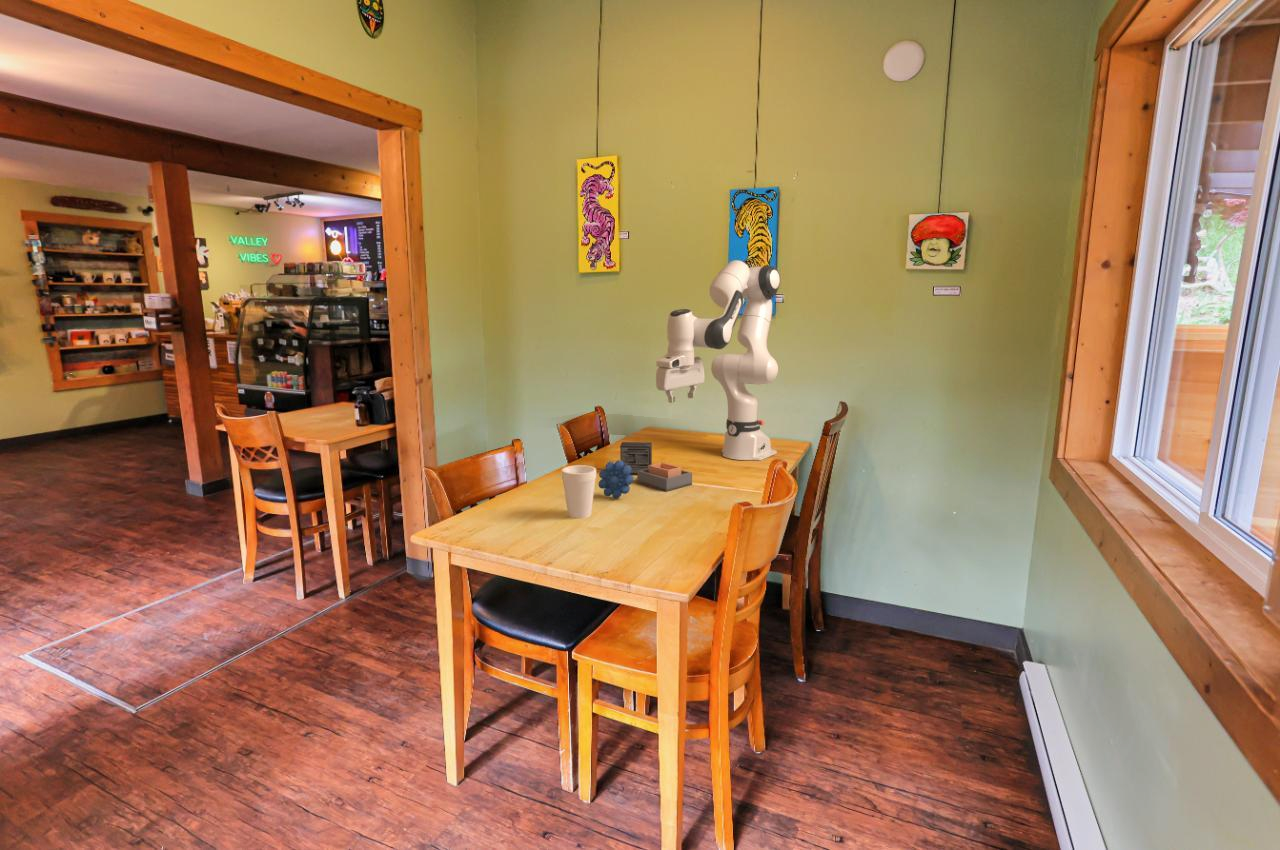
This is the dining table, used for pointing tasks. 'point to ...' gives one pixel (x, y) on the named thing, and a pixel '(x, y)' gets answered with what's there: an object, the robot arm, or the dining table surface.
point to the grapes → (615, 479)
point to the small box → (636, 455)
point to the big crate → (664, 480)
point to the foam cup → (579, 489)
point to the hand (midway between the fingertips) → (681, 400)
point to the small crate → (664, 470)
